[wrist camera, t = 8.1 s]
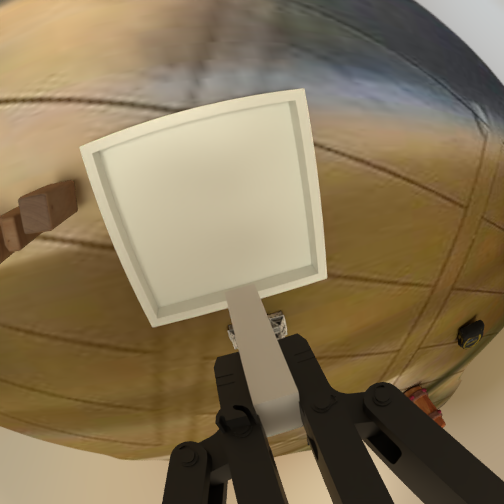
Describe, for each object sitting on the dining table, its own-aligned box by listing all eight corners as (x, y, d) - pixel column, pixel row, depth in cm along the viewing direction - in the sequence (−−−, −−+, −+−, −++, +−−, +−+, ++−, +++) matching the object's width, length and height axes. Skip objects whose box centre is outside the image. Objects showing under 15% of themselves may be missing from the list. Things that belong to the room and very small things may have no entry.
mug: (411, 381, 56) (442, 426, 43) (427, 379, 59) (457, 420, 46) (375, 418, 61) (399, 462, 48) (393, 415, 64) (417, 455, 51)
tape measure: (480, 315, 50) (487, 326, 47) (474, 332, 54) (480, 343, 51) (457, 325, 52) (464, 337, 48) (453, 342, 55) (459, 354, 52)
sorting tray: (153, 310, 33) (152, 327, 30) (89, 143, 23) (79, 146, 20) (316, 265, 35) (327, 278, 32) (292, 90, 25) (304, 88, 22)
